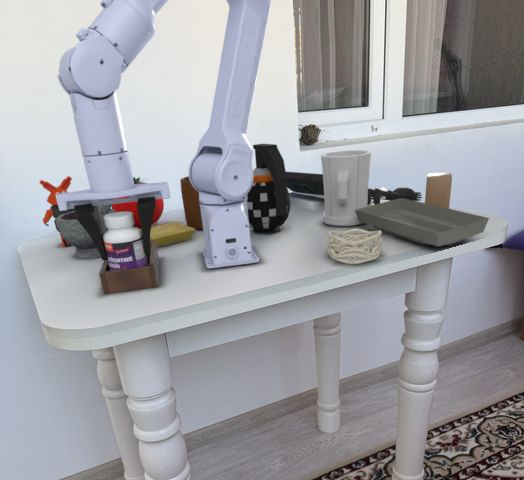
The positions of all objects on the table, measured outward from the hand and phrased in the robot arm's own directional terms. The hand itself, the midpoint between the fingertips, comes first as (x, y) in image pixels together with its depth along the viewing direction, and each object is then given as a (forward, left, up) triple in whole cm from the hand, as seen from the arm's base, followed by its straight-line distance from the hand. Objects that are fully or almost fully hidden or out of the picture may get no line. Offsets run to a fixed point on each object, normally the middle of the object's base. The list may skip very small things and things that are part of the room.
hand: (127, 255), depth 69 cm
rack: (+3, 0, -4) cm, 5 cm away
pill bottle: (0, 0, -4) cm, 4 cm away
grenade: (+19, -24, -4) cm, 31 cm away
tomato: (+35, 0, -4) cm, 36 cm away
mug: (+31, -15, -4) cm, 35 cm away
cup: (+18, -39, -4) cm, 43 cm away
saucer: (+22, -5, -4) cm, 23 cm away
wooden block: (+11, -53, -4) cm, 54 cm away
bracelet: (-3, -37, -2) cm, 37 cm away
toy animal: (+28, +13, -4) cm, 31 cm away
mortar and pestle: (+19, +7, -4) cm, 21 cm away
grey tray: (+5, -46, 0) cm, 46 cm away
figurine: (+27, -53, -3) cm, 59 cm away
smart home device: (+55, -35, -1) cm, 65 cm away
